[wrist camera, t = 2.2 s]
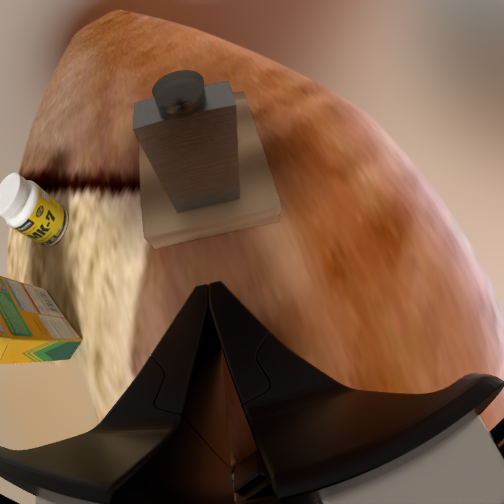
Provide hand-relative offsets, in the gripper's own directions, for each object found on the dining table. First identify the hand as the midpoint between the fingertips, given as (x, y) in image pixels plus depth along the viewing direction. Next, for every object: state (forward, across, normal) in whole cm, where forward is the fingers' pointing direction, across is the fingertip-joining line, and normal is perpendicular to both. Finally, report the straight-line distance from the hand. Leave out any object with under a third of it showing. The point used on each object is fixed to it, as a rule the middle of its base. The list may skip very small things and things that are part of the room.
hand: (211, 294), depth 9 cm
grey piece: (+14, 0, +1) cm, 14 cm away
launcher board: (+20, 0, 0) cm, 20 cm away
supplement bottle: (+19, +17, +1) cm, 25 cm away
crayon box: (+11, +18, +8) cm, 22 cm away
